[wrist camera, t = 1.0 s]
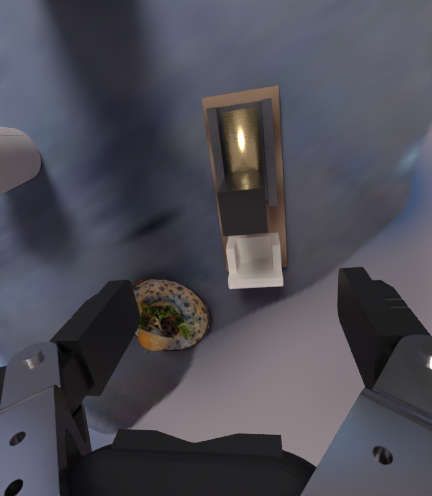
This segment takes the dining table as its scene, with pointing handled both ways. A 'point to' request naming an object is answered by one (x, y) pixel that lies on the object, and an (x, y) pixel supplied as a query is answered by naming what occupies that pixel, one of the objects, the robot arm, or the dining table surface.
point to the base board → (275, 212)
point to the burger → (169, 315)
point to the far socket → (254, 261)
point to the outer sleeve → (265, 143)
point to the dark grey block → (242, 176)
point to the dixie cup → (17, 158)
